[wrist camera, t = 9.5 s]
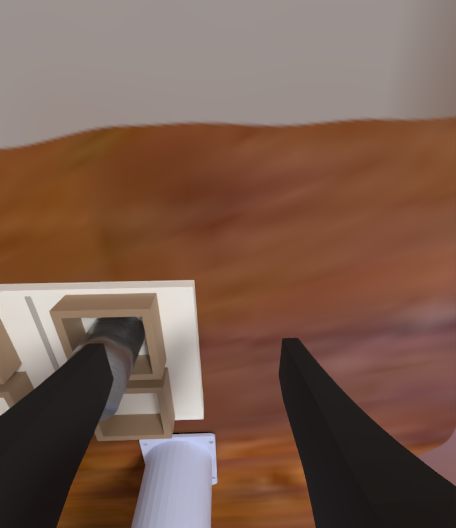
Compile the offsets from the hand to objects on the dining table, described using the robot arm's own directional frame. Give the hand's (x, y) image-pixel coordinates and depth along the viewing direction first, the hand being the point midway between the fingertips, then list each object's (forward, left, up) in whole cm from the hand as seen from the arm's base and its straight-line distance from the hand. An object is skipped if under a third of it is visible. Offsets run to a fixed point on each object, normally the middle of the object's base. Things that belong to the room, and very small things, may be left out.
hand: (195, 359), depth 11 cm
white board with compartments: (-9, +13, -9) cm, 18 cm away
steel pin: (-5, +7, -8) cm, 12 cm away
